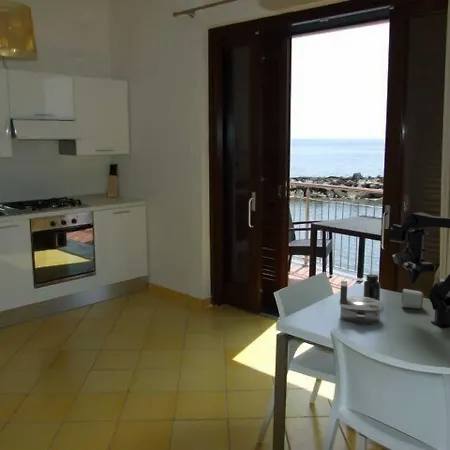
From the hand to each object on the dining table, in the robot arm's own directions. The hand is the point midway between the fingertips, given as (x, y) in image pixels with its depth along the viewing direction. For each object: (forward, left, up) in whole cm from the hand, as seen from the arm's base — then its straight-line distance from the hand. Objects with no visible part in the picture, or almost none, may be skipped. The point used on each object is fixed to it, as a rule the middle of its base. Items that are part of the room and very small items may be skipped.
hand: (412, 283), depth 202 cm
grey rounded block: (+11, -7, -13) cm, 19 cm away
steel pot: (+2, +21, -13) cm, 25 cm away
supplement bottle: (+20, +6, -13) cm, 25 cm away
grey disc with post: (+2, +21, -8) cm, 23 cm away
